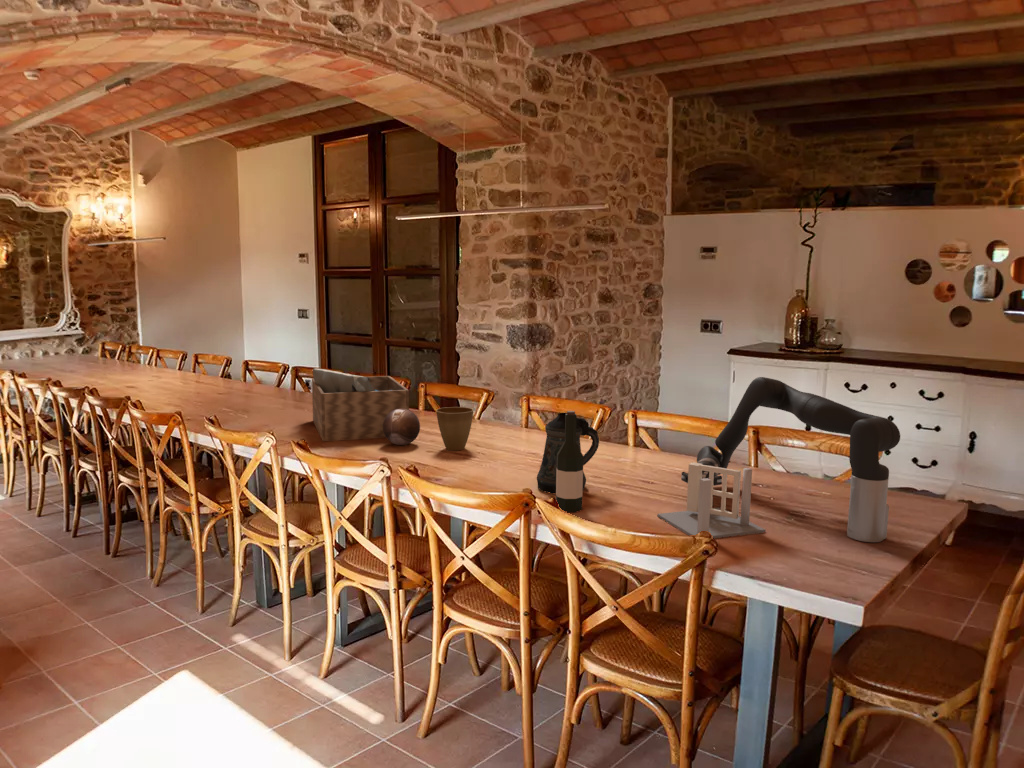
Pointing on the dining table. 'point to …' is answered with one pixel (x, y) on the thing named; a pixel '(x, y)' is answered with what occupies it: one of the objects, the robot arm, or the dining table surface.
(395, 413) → the wooden sphere
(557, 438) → the beer stein
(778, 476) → the dining table surface
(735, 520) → the gate frame
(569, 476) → the wine bottle
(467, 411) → the plant pot
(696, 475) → the gate
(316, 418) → the crate
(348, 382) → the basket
